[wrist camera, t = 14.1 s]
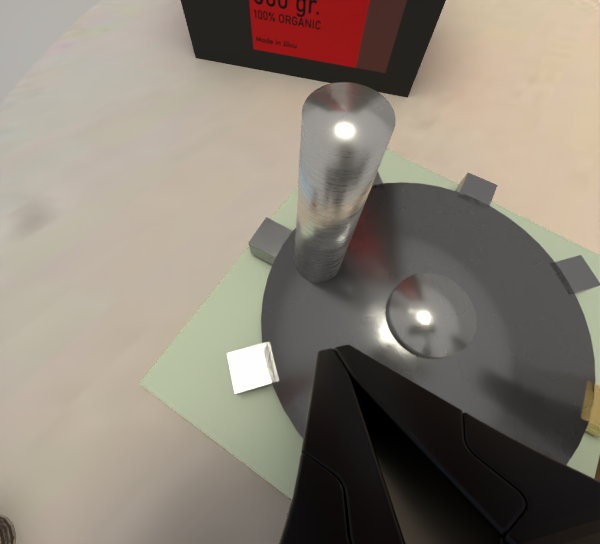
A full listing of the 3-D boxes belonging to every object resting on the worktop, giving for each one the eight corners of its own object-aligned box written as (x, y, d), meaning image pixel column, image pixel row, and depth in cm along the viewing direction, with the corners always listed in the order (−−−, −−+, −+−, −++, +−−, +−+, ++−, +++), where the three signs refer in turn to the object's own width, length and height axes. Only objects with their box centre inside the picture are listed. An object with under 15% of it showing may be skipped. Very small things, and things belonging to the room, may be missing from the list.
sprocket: (694, 467, 15) (1424, 577, 5) (286, 635, 12) (289, 1481, 3) (489, 148, 22) (647, -51, 12) (201, 210, 19) (116, 15, 9)
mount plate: (635, 277, 19) (641, 275, 19) (539, 686, 12) (545, 692, 12) (343, 130, 23) (344, 127, 22) (141, 384, 16) (138, 383, 15)
